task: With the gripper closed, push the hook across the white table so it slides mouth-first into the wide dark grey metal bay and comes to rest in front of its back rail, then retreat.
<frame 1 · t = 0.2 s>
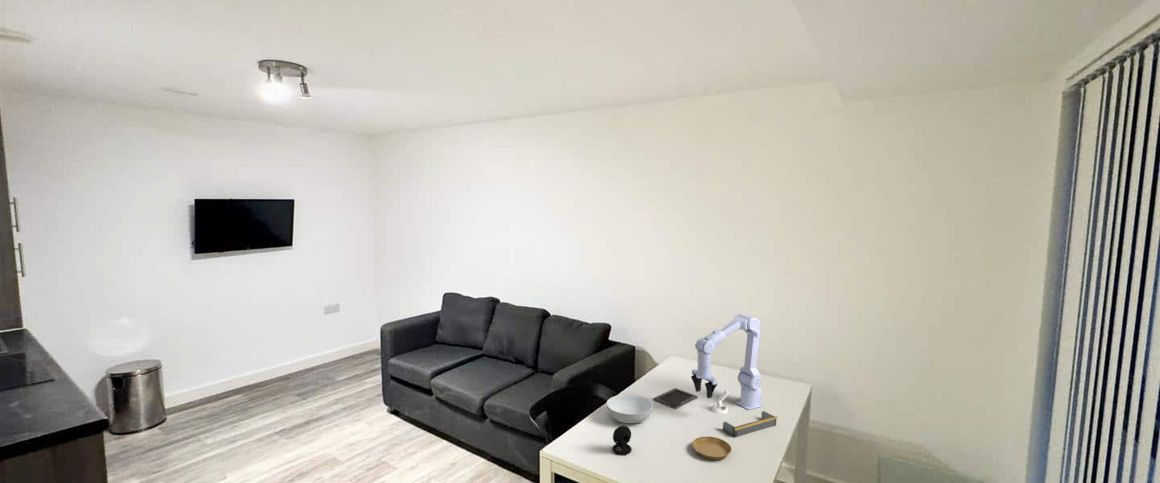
hand: (703, 394, 210), 10 cm above the table, fingers open, 7 cm apart
webcam: (621, 451, 181), on the table
plant saucer: (711, 452, 180), on the table
serving bowl: (629, 418, 208), on the table
hook: (719, 411, 216), on the table
bay: (745, 425, 201), on the table
picture frame: (675, 400, 228), on the table
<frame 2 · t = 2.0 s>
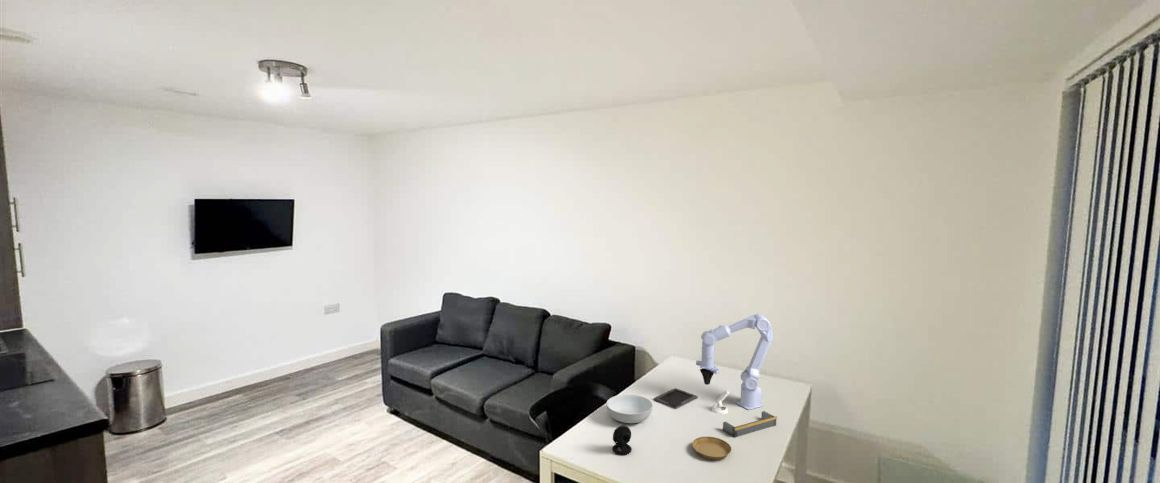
hand: (707, 383, 223), 9 cm above the table, fingers closed
nothing on the table moved.
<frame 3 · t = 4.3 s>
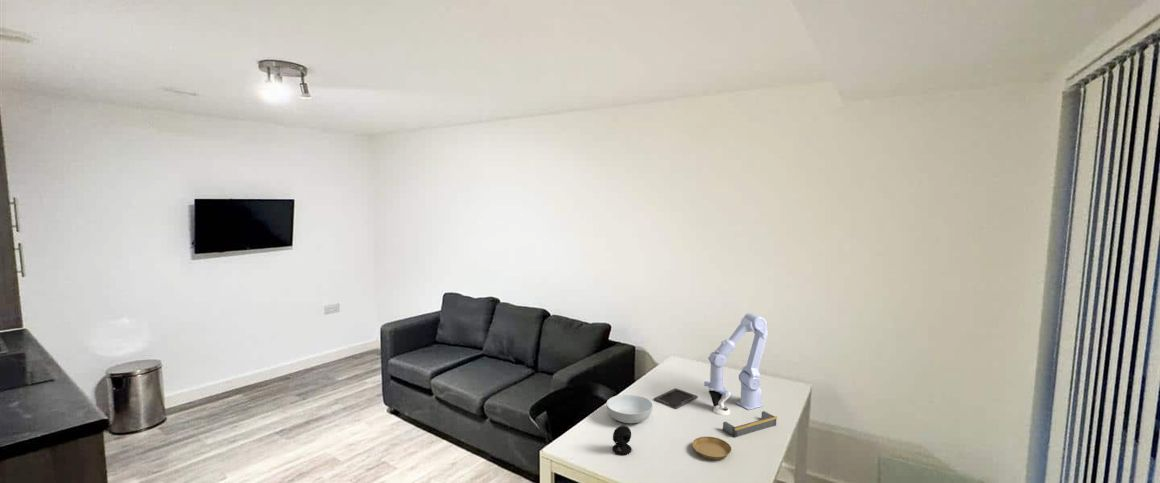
hand: (715, 405, 218), 1 cm above the table, fingers closed
hook: (721, 412, 215), on the table, touching gripper
everything else where it was.
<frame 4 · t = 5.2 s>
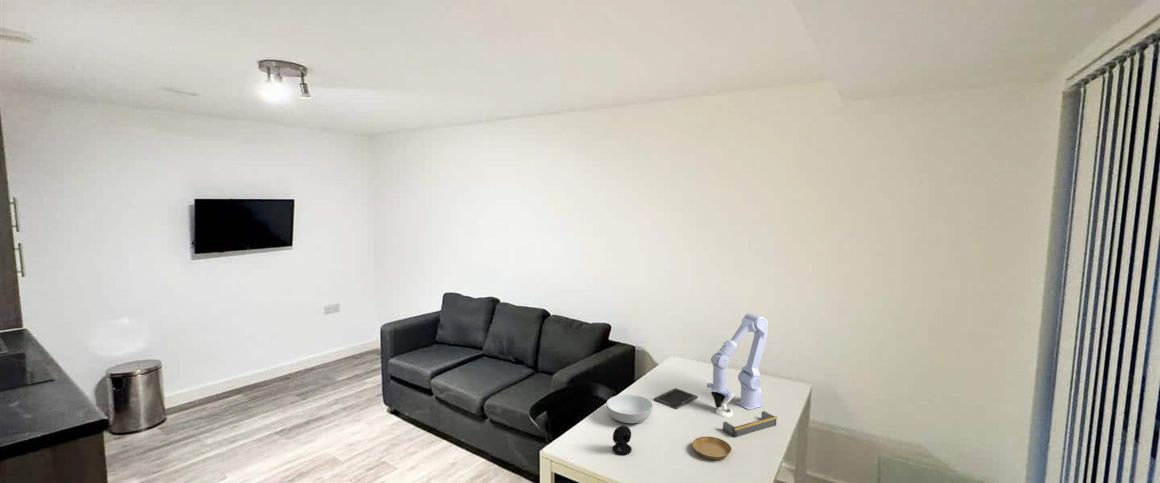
hand: (718, 407, 216), 1 cm above the table, fingers closed
hook: (724, 413, 213), on the table, touching gripper
everything else where it was.
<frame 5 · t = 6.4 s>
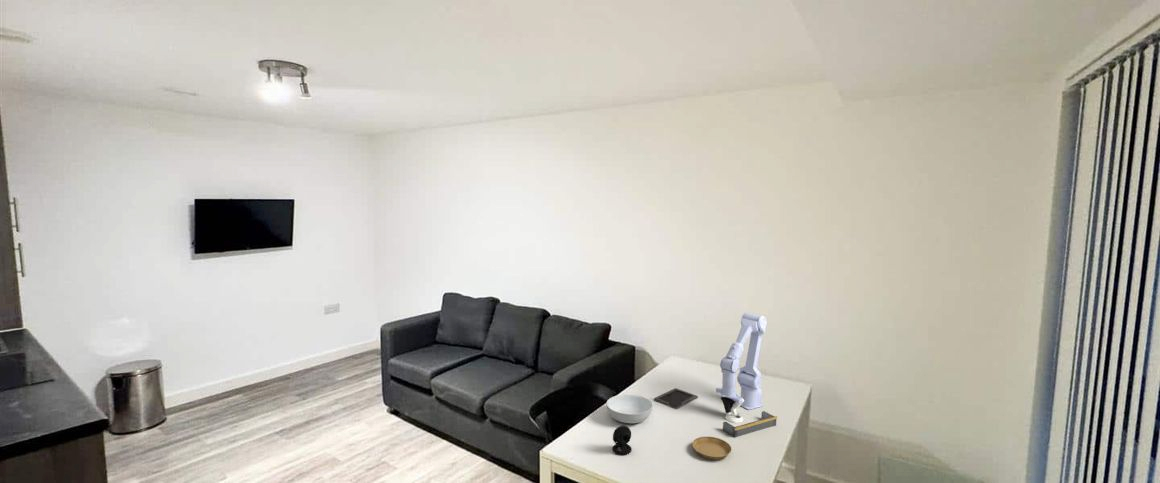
hand: (728, 412, 211), 1 cm above the table, fingers closed
hook: (734, 419, 207), on the table, touching gripper
everything else where it was.
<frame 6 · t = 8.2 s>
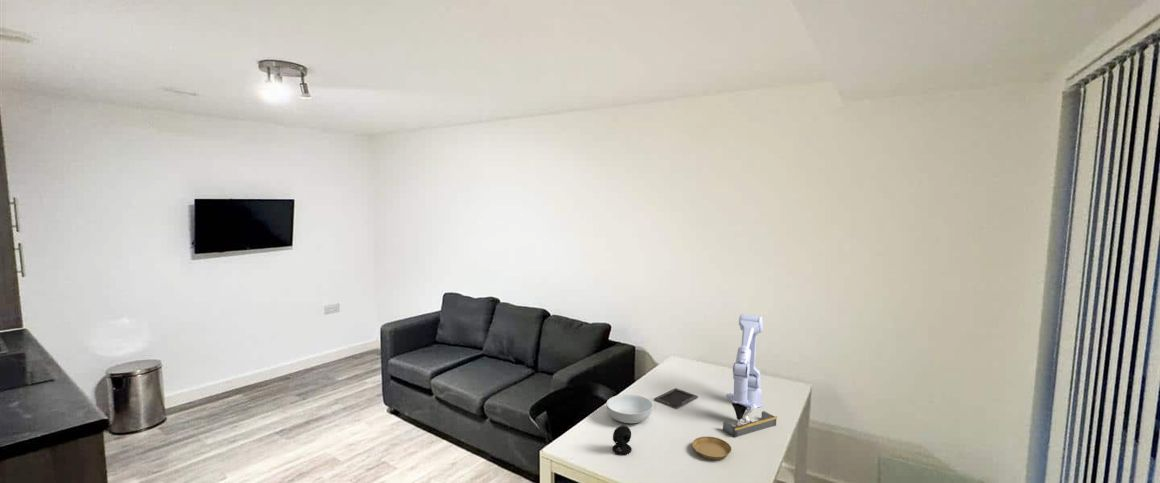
hand: (739, 419, 205), 1 cm above the table, fingers closed
hook: (746, 426, 201), on the table, touching bay, gripper
everything else where it was.
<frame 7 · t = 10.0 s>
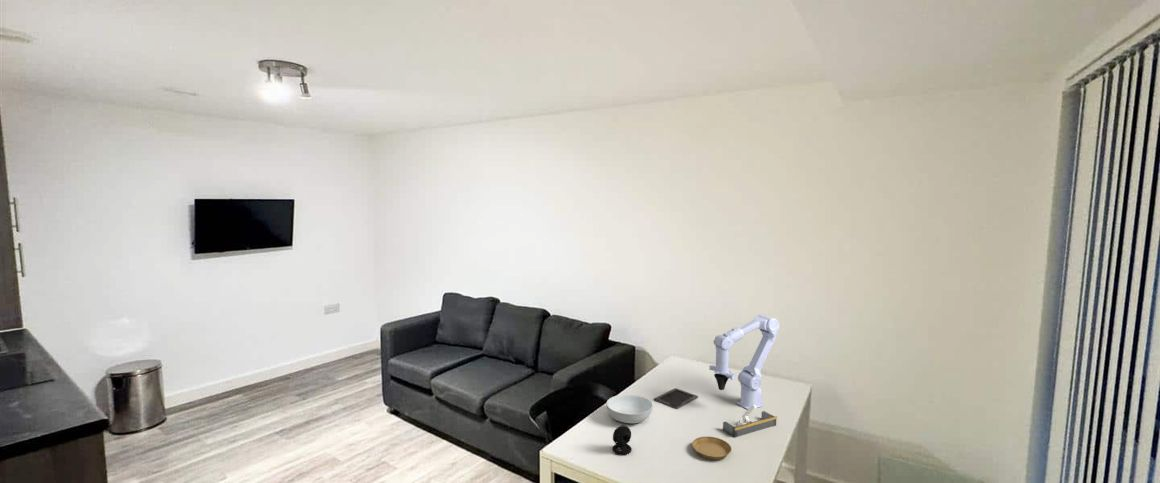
hand: (721, 389, 215), 10 cm above the table, fingers closed
hook: (746, 426, 201), on the table
everything else where it was.
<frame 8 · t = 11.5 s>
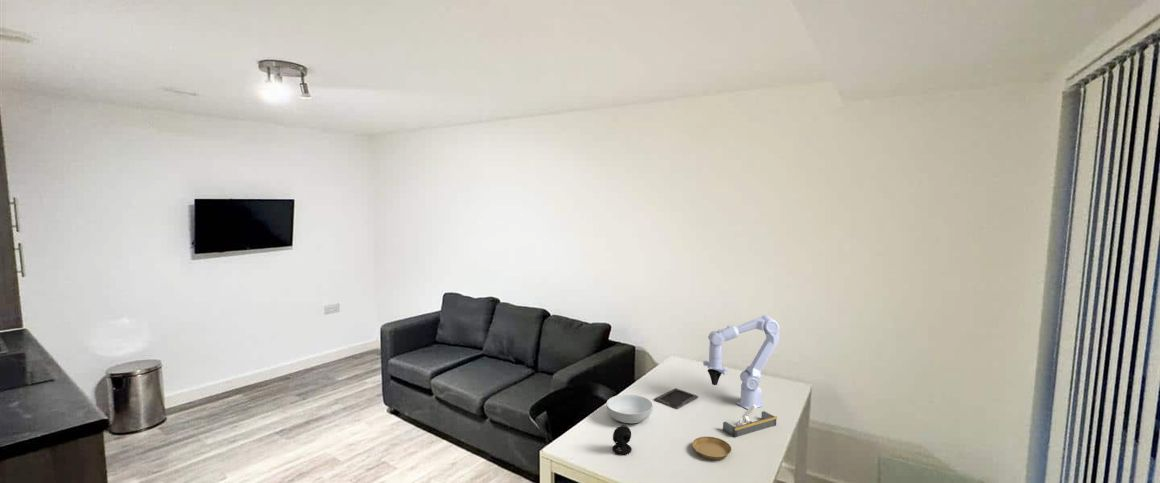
hand: (714, 384, 221), 10 cm above the table, fingers closed
nothing on the table moved.
at the end: hook inside the target area on the bay (1.4 cm from its centre), point 0.0 cm above the bay's base; hook moved 16.4 cm from its start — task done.
